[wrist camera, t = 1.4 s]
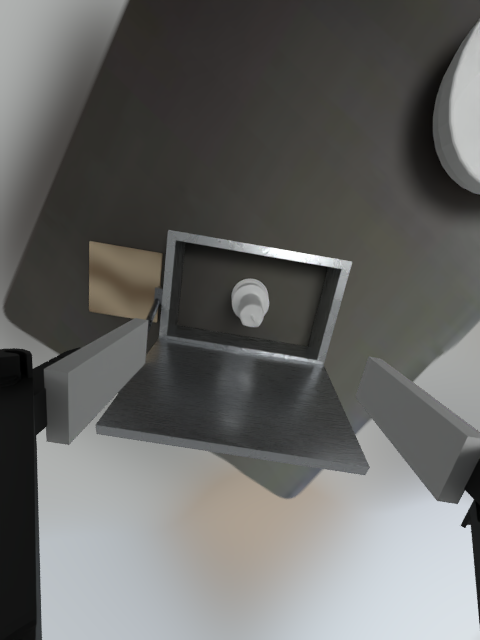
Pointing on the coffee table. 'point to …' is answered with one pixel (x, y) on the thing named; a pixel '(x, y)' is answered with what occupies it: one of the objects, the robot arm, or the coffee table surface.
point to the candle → (250, 302)
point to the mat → (123, 280)
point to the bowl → (460, 115)
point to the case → (239, 380)
